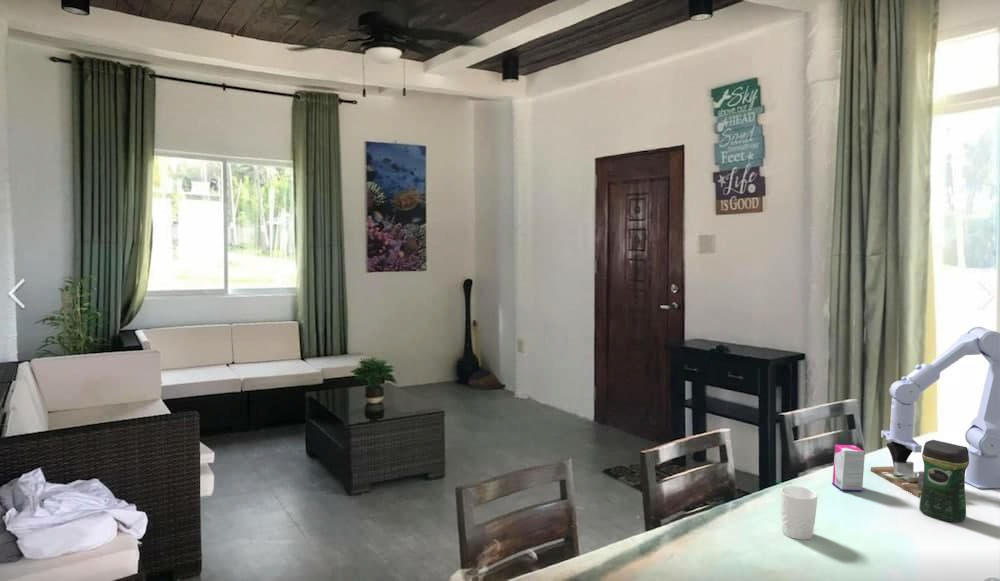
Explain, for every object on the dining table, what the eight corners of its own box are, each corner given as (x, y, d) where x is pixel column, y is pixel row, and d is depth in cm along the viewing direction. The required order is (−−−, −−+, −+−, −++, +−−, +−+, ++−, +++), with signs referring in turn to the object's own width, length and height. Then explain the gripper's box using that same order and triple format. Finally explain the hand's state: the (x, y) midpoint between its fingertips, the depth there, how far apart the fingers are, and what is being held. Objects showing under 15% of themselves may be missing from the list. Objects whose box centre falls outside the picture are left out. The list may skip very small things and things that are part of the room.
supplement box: (863, 492, 185) (865, 451, 184) (841, 491, 185) (843, 450, 184) (852, 484, 190) (854, 444, 189) (831, 483, 190) (833, 444, 189)
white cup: (799, 544, 154) (801, 501, 153) (771, 530, 161) (773, 489, 160) (823, 536, 157) (825, 495, 156) (794, 523, 164) (796, 483, 163)
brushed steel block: (885, 474, 194) (886, 462, 194) (909, 473, 195) (910, 461, 195) (905, 485, 186) (905, 472, 186) (930, 484, 187) (931, 471, 186)
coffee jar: (970, 517, 168) (975, 445, 167) (957, 525, 164) (962, 451, 162) (927, 505, 176) (931, 435, 174) (913, 512, 171) (918, 440, 170)
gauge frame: (870, 470, 201) (871, 451, 200) (902, 470, 202) (903, 450, 201) (918, 497, 181) (919, 475, 180) (953, 496, 182) (954, 474, 181)
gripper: (872, 416, 202) (869, 460, 203) (905, 430, 187) (903, 478, 188) (894, 415, 202) (892, 460, 203) (929, 430, 188) (926, 477, 189)
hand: (898, 468), depth 196 cm, fingers closed
